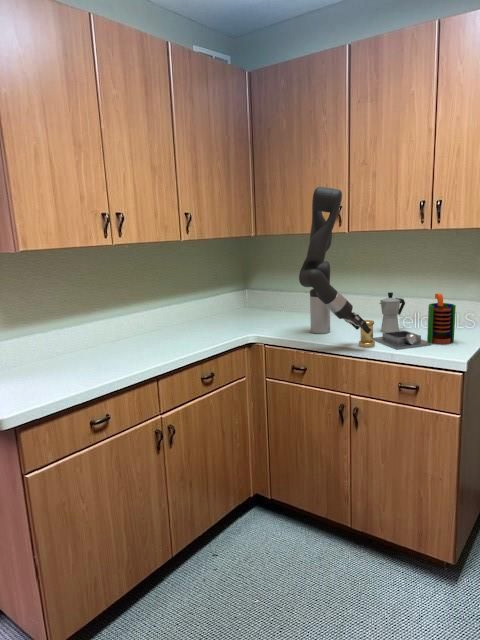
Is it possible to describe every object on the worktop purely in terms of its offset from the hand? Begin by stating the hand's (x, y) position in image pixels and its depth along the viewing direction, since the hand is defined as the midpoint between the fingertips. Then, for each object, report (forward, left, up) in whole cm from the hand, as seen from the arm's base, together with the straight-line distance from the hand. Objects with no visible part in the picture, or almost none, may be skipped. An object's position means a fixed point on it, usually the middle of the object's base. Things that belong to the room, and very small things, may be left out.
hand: (364, 329), depth 199 cm
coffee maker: (-19, +25, -7) cm, 33 cm away
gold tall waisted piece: (0, +1, -7) cm, 7 cm away
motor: (+8, +30, -7) cm, 32 cm away
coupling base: (+2, +16, -7) cm, 18 cm away
